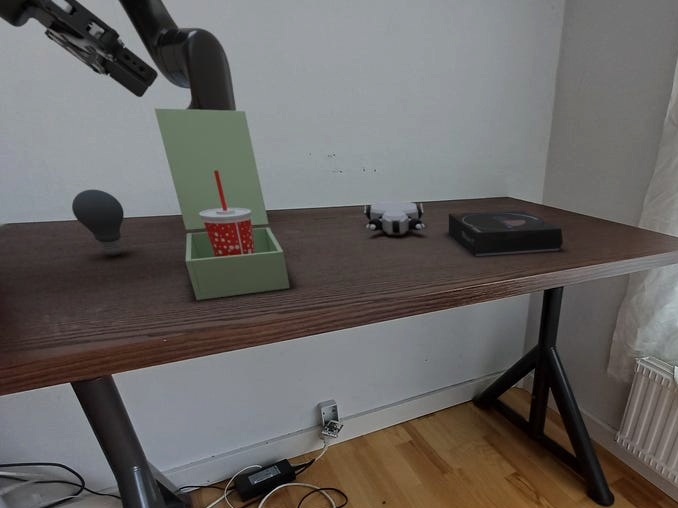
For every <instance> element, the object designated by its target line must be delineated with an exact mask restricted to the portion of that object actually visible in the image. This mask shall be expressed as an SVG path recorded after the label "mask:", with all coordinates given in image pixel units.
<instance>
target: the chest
mask: <svg viewBox="0 0 678 508" xmlns="http://www.w3.org/2000/svg"><path fill="white" fill-rule="evenodd" d="M252 233H253V240H254V247H255V253H253V254H242V255H232V256H221V257H215V255H214V252H213V249H212V246H211V243H210V240H209V237H208V234H207V231H198V232H187V233H186V242H185V243H186V245H185V246H186V247H185V264H186V268H187V272H188V275H189V278H190V282H191V285H192V290H193V293H194V295H195V300H196V301H203V300H208V299H216V298H224V297H231V296H232V297H233V296H239V295H247V294H255V293H262V292H271V291H279V290H285V289H290V288H291V287H290V281H289V275H288V270H287V264H286V258H285V254H284V250H283V249H282V247H281V245H280V243H279V242H278V240H277V238H276V236H275V235H274V234H273V233H274V232H272V230H271V228H270V227H269V226H267V227H252Z"/></svg>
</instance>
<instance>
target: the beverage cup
mask: <svg viewBox="0 0 678 508" xmlns="http://www.w3.org/2000/svg"><path fill="white" fill-rule="evenodd" d="M214 173H215V178H216V182H217V186H218V191H219V195H220V199H221V203H222V208H217V209H210V210H205V211H202V212H200V213H199V216H200V217H201V221H202V222H204V225H205V228H206V229H205V232H207V234H208V237H209V240H210V243H211V246H212V249H213V252H214V255H215V257H221V256H232V255H242V254H253V253H255V247H254V240H253V233H252V228H253V227H252V226H253V225H251V218H252V215H251V214H252V212H251V210H249V209H245V208H227V207H226V203H225V199H224V194H223V190H222V185H221V181H220V177H219V172H218V171H214Z"/></svg>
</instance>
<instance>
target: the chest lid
mask: <svg viewBox="0 0 678 508" xmlns="http://www.w3.org/2000/svg"><path fill="white" fill-rule="evenodd" d="M154 112H155V113H154V114H155V116H156V120H157V124H158V128H159V132H160V135H161V140H162V144H163V148H164V151H165V155H166V158H167V163H168V166H169V169H170V174H171V178H172V182H173V186H174V189H175V190H174V191H175V193H176V198H177V201H178V205H179V209H180V212H181V217H182V221H183V225H184V228H185V231H192V230H193V231H194V230H206V228H205V225H204V222H202V221H201V217H200V216H199V213H200V212H202V211H205V210H210V209H217V208H222V203H221V199H220V195H219V191H218V186H217V182H216V178H215V173H214V171H218V172H219V177H220V181H221V185H222V190H223V194H224V199H225V203H226V207H227V208H245V209H249V210H251V212H252V214H251V215H252V218H251V225H252V226H263V225H269V219H268V215H267V210H266V205H265V200H264V196H263V191H262V187H261V186H262V185H261V181H260V176H259V171H258V166H257V162H256V157H255V153H254V147H253V143H252V138H251V134H250V128H249V124H248V120H247V114H246V111H245V110H236V111H224V110H190V109H186V108H181V109H180V108H155V107H154Z"/></svg>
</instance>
